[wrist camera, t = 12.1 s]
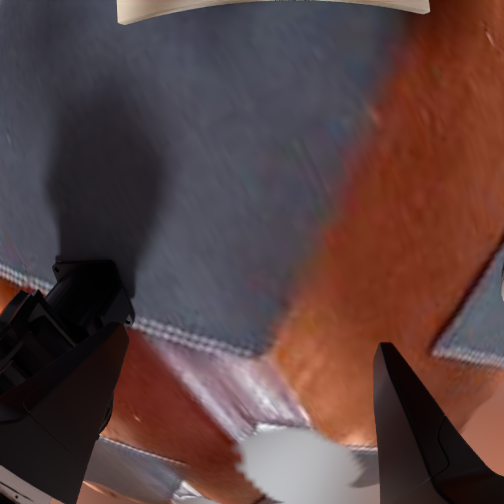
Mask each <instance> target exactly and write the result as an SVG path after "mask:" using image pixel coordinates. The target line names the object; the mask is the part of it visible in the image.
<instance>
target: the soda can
mask: <svg viewBox="0 0 504 504" xmlns="http://www.w3.org/2000/svg"><path fill="white" fill-rule="evenodd" d="M501 295H502V298H503V301H504V272H503V276H502V292H501Z"/></svg>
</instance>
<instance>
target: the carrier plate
mask: <svg viewBox="0 0 504 504" xmlns="http://www.w3.org/2000/svg"><path fill="white" fill-rule="evenodd" d="M254 1H273V0H117V14H118V23H120V24H123V25H127V24H130V23H133V22H137V21H141V20H144V19H148V18H152V17H156V16H161V15H165V14H170V13H174V12H179V11H184V10H190V9H196V8H202V7H208V6H215V5H223V4H232V3H242V2H254ZM319 1H337V2H349V3H359V4H368V5H375V6H382V7H388V8H394V9H400V10H405V11H410V12H415V13H420V14H426V13H428V12H430V7H429V0H319Z"/></svg>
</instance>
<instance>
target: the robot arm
mask: <svg viewBox="0 0 504 504" xmlns="http://www.w3.org/2000/svg"><path fill="white" fill-rule="evenodd" d="M107 265H108V266H110V268H109V267H108V266H107ZM52 269H53V272H54V274H55V277H56V279H57V284H56V285H55V286H54V287H53V288H52V290H51V291H50V292H49V293H48V294H47V296H46V297H45V298H44V297H43V294H42V293H41V292H40V290H39V289H38V290H37V291H35V292H34V293H32V294H31V293H26V292H24V291H22V290H20V291H19V292H18V293H17V294H16V295H15V296H14V297H13V298H12V299H11V301H10V302H9V303H8V304H7V305H6V307H5V308H4V309H3V311H2V312H1V314H0V504H50V502H51V499H52V497H53V498H54V499H56V500H58V501H60V502H62V503H64V504H76V502H77V499H78V495H79V492H80V489H81V485H82V482H83V479H84V476H85V472H86V469H87V465H88V463H89V460H90V457H91V453H92V450H93V448H94V445H95V442H96V440H98V439H99V437H100V436H99V434H100V433H101V432H102V431H103V430H104V429H105V427H106V426H107V424H108V422H109V420H110V418H111V415H112V408H113V397H114V389H115V387H116V384H117V382H118V379H119V376H120V373H121V369H122V366H123V362H124V358H125V355H126V351H127V348H128V345H129V337H128V334H127V332H126V330H125V327H124V326H128V327H130V326H132V325H133V323H134V318H133V315H132V312H131V307H130V305H129V302H128V299H127V296H126V293H125V290H124V287H123V286H122V284H121V281H120V278H119V275H118V272H117V269H116V266H115V264H114V262H113V261H111V260H95V261H73V262H56V263H55V264H54V265H53V266H52ZM373 385H374V395H373V398H374V414H375V424H376V434H377V446H378V460H379V477H380V504H504V476H501V475H499V474H497V473H495V472H493V471H492V470H491V469H490V468H489V467H488V466H486V464H485V463H484V462H483V461H482V460H481V459H480V457H479V456H478V455H477V454H476V453H475V452H474V451H473V449H472V448H471V447H470V446H469V445H468V444H467V443H466V441H465V440H464V439H463V438H462V436H461V435H460V434H459V433H458V431H457V430H456V429H455V427H454V426H453V425H452V423H451V422H450V420H449V419H448V418H447V416H445V414H444V412H443V411H442V409H441V408H440V407H439V405H438V404H437V402H436V401H435V400H434V398H433V397H432V395H431V394H430V393H429V391H428V390H427V389H426V387H425V386H424V385H423V383H422V382H421V380H420V379H419V378H418V376H417V375H416V374H415V372H414V371H413V370H412V368H411V367H410V366H409V364H408V363H407V362H406V360H405V359H404V358H403V357H402V355H401V354H400V353H399V351H398V350H397V349H396V347H395V346H394V345H393V344H392V343H391V342H381V343H379V345H378V348H377V351H376V354H375V356H374V361H373Z"/></svg>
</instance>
